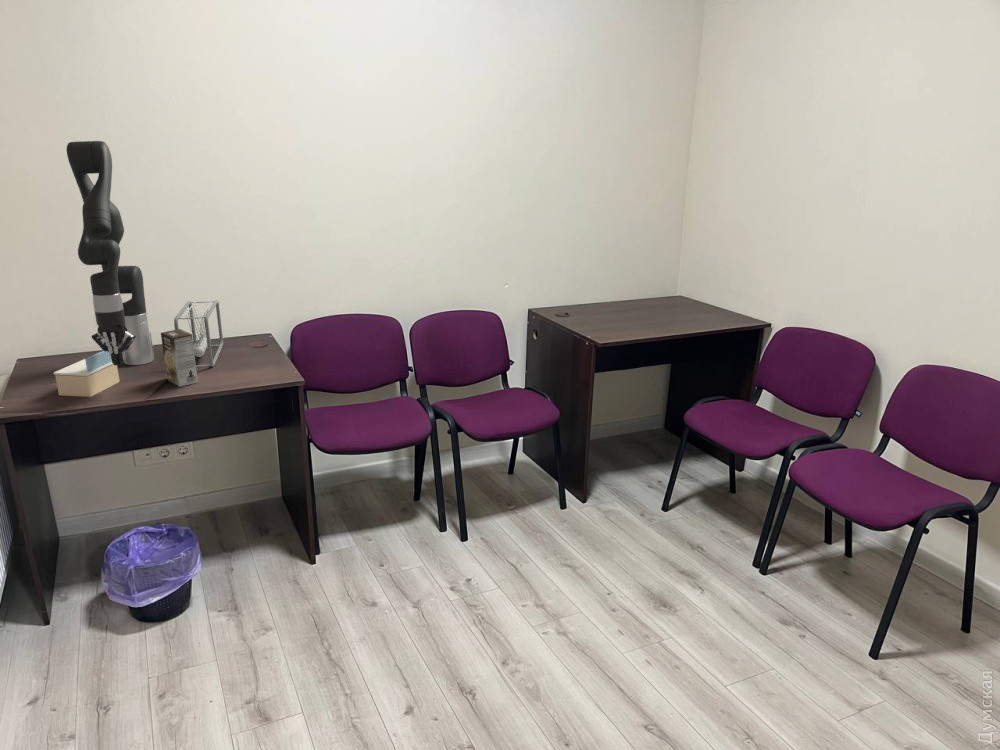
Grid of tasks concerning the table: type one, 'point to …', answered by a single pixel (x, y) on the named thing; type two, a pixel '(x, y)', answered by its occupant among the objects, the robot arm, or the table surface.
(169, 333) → the coffee box
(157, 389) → the table surface
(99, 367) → the lid
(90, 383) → the storage box
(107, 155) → the robot arm
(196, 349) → the newton's cradle
